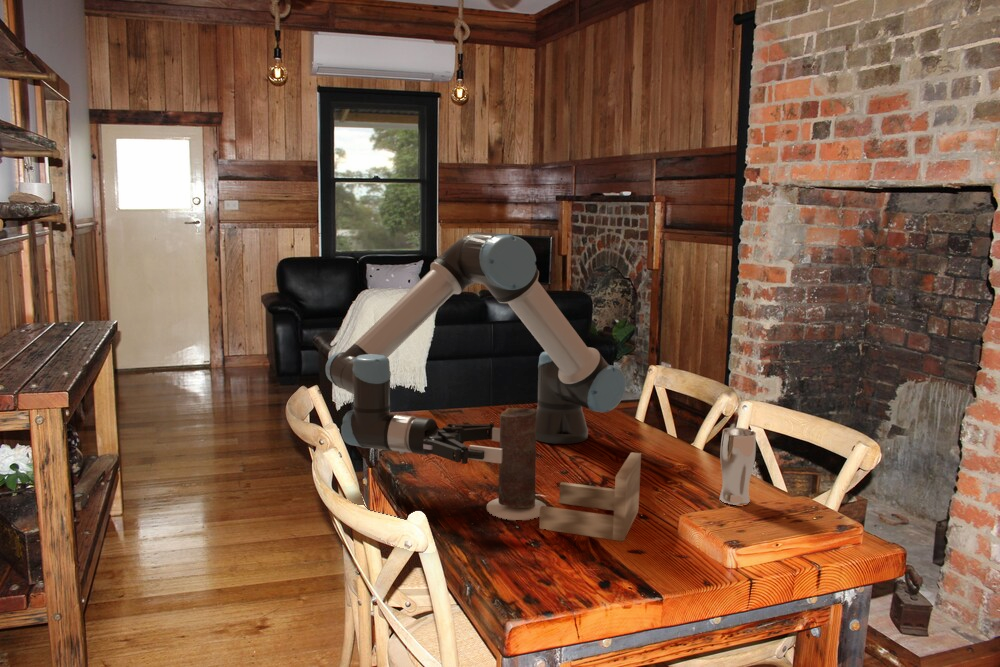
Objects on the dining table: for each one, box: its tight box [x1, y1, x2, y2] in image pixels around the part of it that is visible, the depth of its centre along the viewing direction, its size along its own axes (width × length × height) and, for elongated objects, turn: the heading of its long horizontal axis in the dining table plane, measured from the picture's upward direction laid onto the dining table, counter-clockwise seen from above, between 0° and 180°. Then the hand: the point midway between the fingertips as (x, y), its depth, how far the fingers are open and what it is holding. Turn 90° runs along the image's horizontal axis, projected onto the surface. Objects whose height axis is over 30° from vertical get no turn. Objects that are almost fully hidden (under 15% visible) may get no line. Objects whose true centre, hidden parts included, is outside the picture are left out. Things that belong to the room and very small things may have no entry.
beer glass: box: [719, 427, 757, 505], centre depth 172 cm, size 7×7×15 cm
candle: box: [498, 407, 537, 508], centre depth 164 cm, size 8×7×20 cm
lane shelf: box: [538, 451, 642, 542], centre depth 160 cm, size 16×16×12 cm
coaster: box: [486, 497, 547, 521], centre depth 166 cm, size 12×12×1 cm
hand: (512, 446), depth 164 cm, fingers open, 13 cm apart
